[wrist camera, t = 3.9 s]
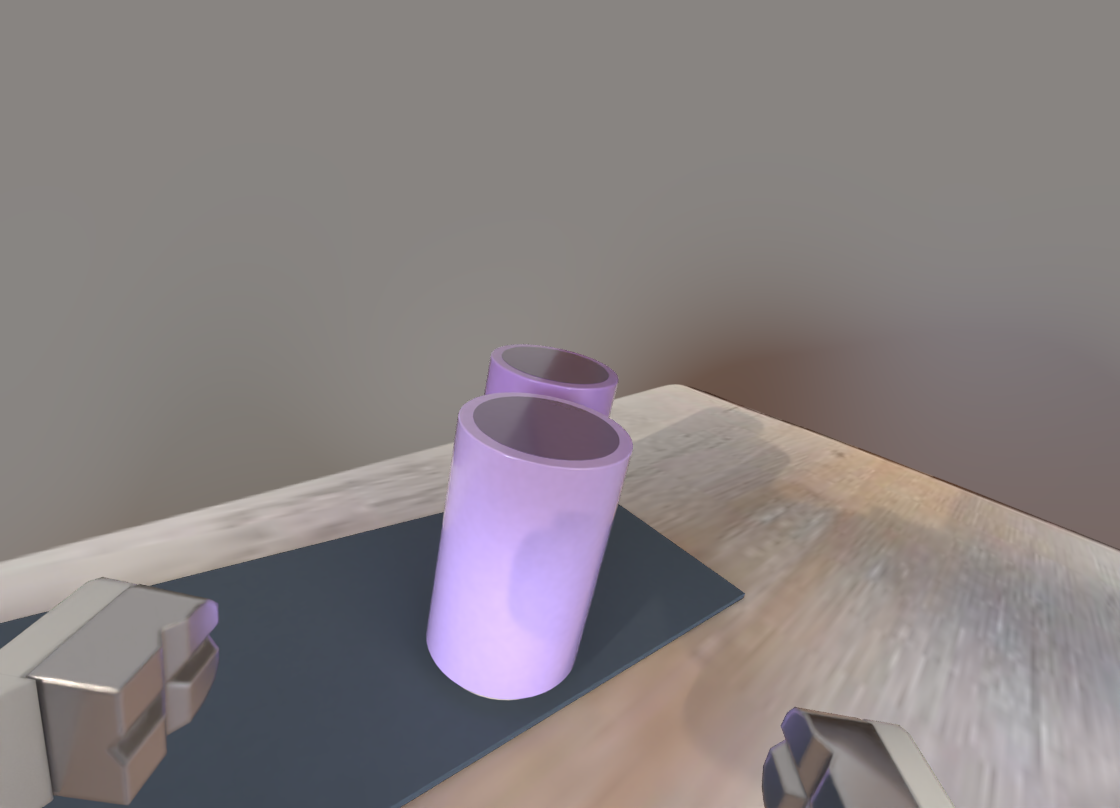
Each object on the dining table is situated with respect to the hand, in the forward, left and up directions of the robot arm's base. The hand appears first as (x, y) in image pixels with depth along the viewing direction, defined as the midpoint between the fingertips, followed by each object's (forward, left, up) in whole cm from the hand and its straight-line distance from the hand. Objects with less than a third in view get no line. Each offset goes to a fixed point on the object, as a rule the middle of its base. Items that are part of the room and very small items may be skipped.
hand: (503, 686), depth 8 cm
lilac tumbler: (-8, -9, -11) cm, 17 cm away
